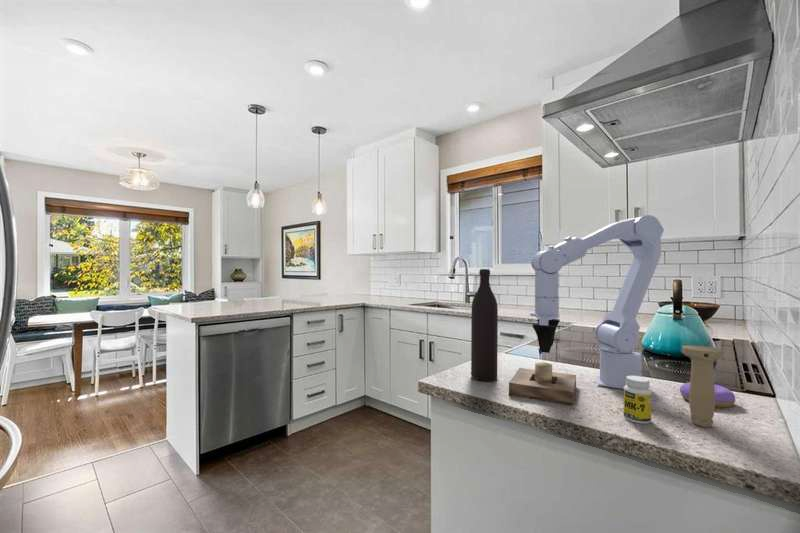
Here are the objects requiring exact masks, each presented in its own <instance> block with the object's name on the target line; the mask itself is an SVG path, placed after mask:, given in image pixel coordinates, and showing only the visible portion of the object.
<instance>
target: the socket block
mask: <svg viewBox="0 0 800 533" xmlns="http://www.w3.org/2000/svg"><path fill="white" fill-rule="evenodd" d="M576 390H577V375H576V374H571V373H561V372H556V371H555V372H554V371H552V384H551V383H544V382H537V381H535V369H531V368H523V367H519V368H518V370H517V371H516V372H515V374H514V375H513V376H512V377H511V379H510V380H509V381H508V396H512V397H513V396H514V397H519V398H524V399H525V398H526V399H531V400H538V401H542V402H543V401H544V402H548V403H549V402H550V403H556V404H561V405H568V406H574V400H575V395H576Z"/></svg>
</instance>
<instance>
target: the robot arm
mask: <svg viewBox="0 0 800 533" xmlns="http://www.w3.org/2000/svg"><path fill="white" fill-rule="evenodd" d="M664 231H665V229H664V228H663V225H662V224H661V222H660V220H659V219H658V218H657V217H656V216H654V215H651V214H646V215H642V216H639V217H632V218H624V219H621V220H620V221H619V220H618V221H616V222H615V221H614V222H613V223H610V224H607V225H606V226H603V227H601V228H600V229H598V230H596V231H594V232H592V233H590V234H588V235H586V236H584V237H582V238H580V237H576V236H574V237H571V236H567V237H565V238H564V239H563V240H564V241H562V242H559V243H558V244H555V245H549V246H548V247H547V250H541V251H538V252H537V253H535V254H534V256H533V257H532V260H531V261H530V265H531V267H532V269H533V271H534V312H530V314H529V316H530V317H535V318H536V319H537V320H536V323H535V322H534V323H532V328H533V330H534V332H535V334H536V337H537V341H538V348H539V350H540V352H541V353H547V354H549V353H550V352H551V349H552V347H553V345H554V343H555V342H554V340H555V335H556V331H557V329H558V325H559V324H560V320H561V319H559V318H560V314H559V311H560V310H559V309H560V308H559V302H560V301H559V272H560V271H561V270H562V268H563V267H565V266H567V265H569V264H572V263H574V262H575V261H578V260H580V259H583V258H584V257H586V256H587V252H588V251H589V250H590V249H592V248H594V247H597V246H600V245H602V244H605V243H607V242H610V241H612V240H619V241H621V243H622V244H623V245H625V247H627V248H628V249H629V250H630V251H631V253H632V255H633V258H632V262H631V264H630V265H629V266H630V267H628V268H629V269H628V271H627V274H626V275H625V279H624V282H623V283H622V286H621V287H620V288H621V289H620V291H619V294H618V296H617V298H616V300H615V303H614V307H613V308H612V310H611V311H610V312H608V313H607V314H606V315H604V316H603V319H602V321H601V322H600V323H599V324H598V325H597V326H596V328H595V330H594V336H595V339H596V341H597V342H598V343H599V375H598V376H597V385H598V386H601V387H607V388H615V389H622V390H624V387H625V385H627V384H626V377H627V376H640V377H643V374H642V372H643V371H642V354H641V352H636V351H634V350H635V349H636V347H637V346H638V344H639V332H640V329H641V327H640V325H639V322H638V321H637V319H636V318H637V315H638V313H639V311H640V310H641V305H642V303H643V301H644V298H645V296H646V294H647V292H648V288H649V286H650V284H651V281H652V278H653V276H654V274H655V271H656V269H657V266H658V264H659V261H660V259H661V256H662V244H661V241H662V240H661V239H662V236H663V233H664Z"/></svg>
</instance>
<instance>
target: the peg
mask: <svg viewBox="0 0 800 533" xmlns="http://www.w3.org/2000/svg"><path fill="white" fill-rule="evenodd" d="M534 370H535V381H537V382H544V383H551V384H552V372H553V364H551V363H548V362H542V361H538V362H535V363H534Z"/></svg>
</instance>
